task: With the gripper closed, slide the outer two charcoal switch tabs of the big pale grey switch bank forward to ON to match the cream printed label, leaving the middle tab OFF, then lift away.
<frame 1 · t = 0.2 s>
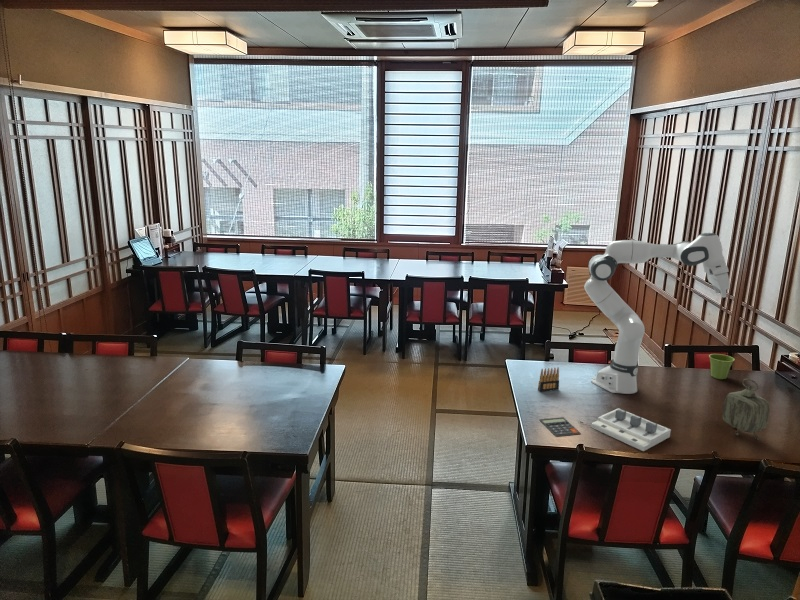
hand: (720, 294, 248), 52 cm above the table, tool tilted 20°, fingers open, 8 cm apart
tab b: (635, 420, 227), point 4 cm above the table, slide at 6.0 cm
tab c: (651, 426, 221), point 4 cm above the table, slide at 6.0 cm
plant pot: (718, 377, 286), on the table
tabletop clock: (739, 435, 225), on the table
calculator: (559, 428, 230), on the table
tab a: (620, 414, 232), point 4 cm above the table, slide at 6.0 cm
switch bank: (629, 432, 226), on the table
ammunition clip: (548, 390, 267), on the table
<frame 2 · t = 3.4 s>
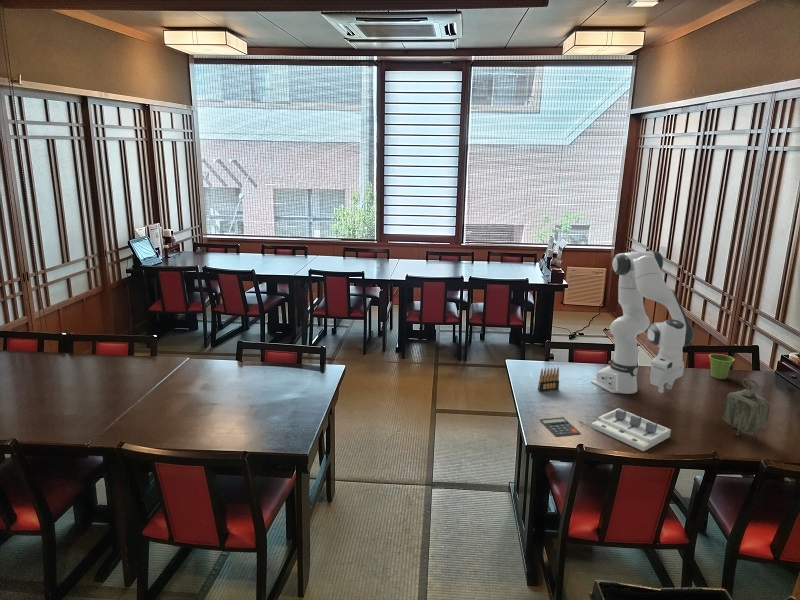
hand: (664, 390, 221), 19 cm above the table, tool pointing down, fingers open, 5 cm apart
nothing on the table moved.
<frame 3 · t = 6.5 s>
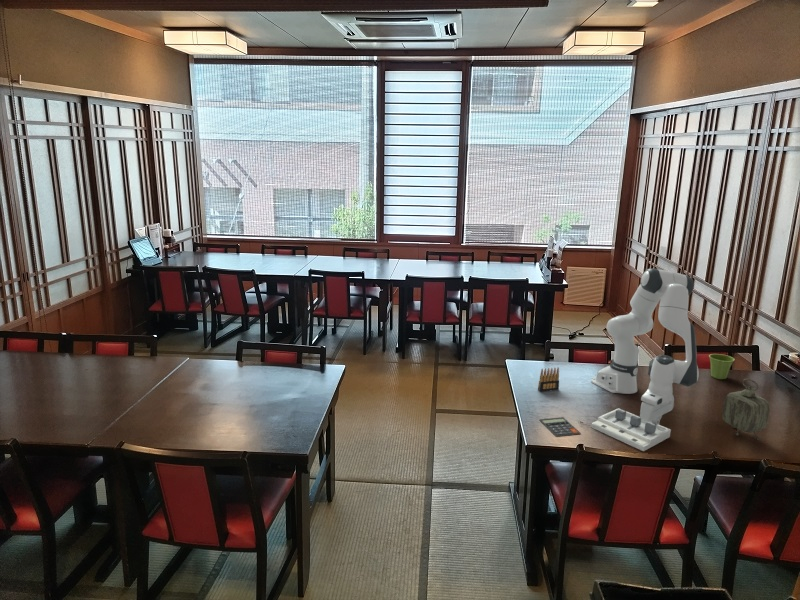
hand: (655, 424, 222), 5 cm above the table, tool pointing down, fingers closed
tab c: (650, 427, 221), point 4 cm above the table, slide at 5.3 cm, touching gripper
everything else where it was.
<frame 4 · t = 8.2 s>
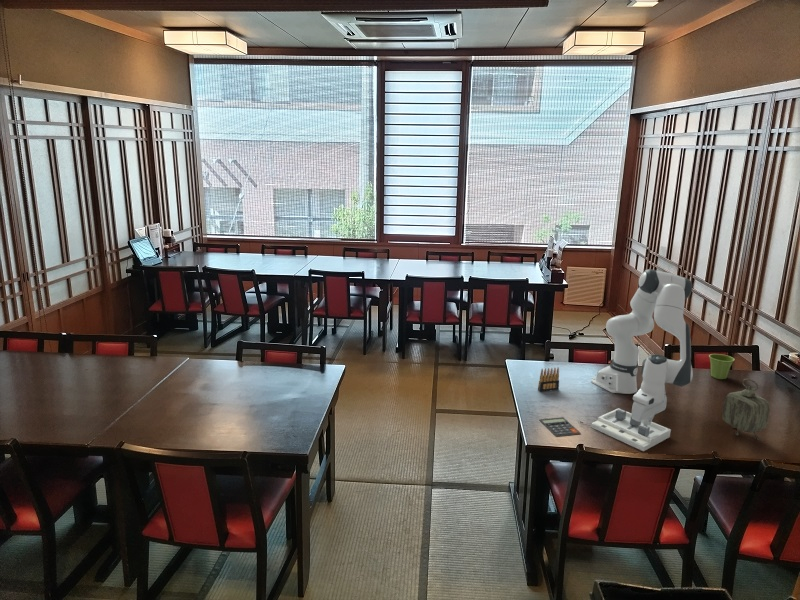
hand: (647, 424, 220), 6 cm above the table, tool pointing down, fingers closed
tab c: (643, 430, 218), point 4 cm above the table, slide at 0.2 cm, touching gripper
everything else where it was.
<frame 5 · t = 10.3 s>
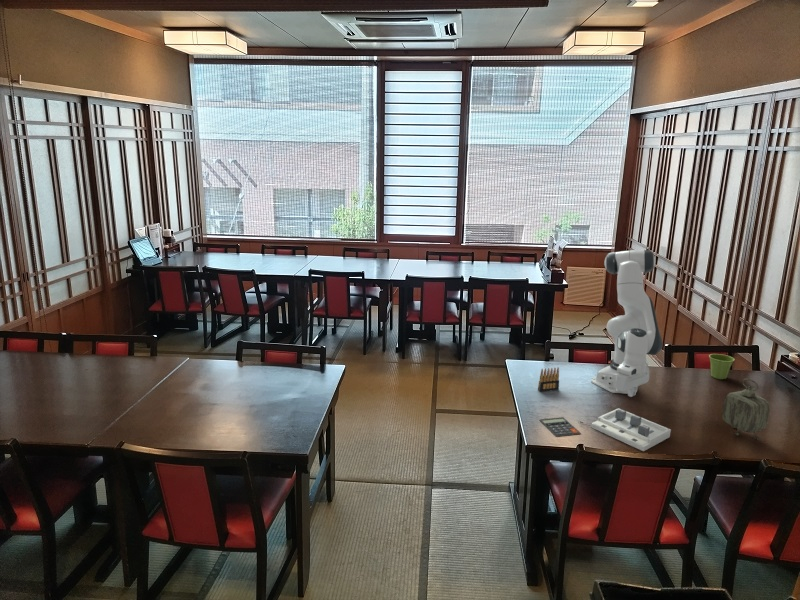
hand: (631, 395, 234), 12 cm above the table, tool pointing down, fingers closed
tab c: (643, 430, 218), point 4 cm above the table, slide at 0.2 cm
everything else where it was.
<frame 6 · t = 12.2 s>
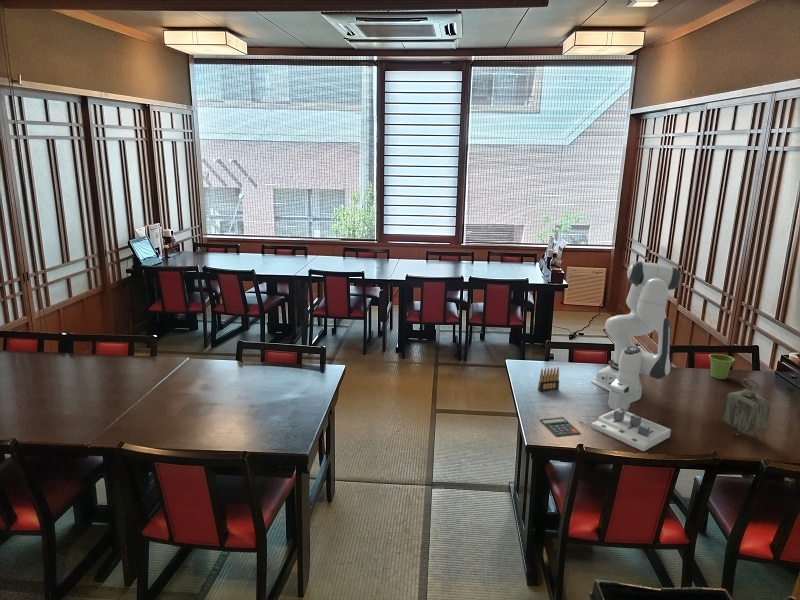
hand: (623, 412, 233), 5 cm above the table, tool pointing down, fingers closed
tab a: (618, 415, 231), point 4 cm above the table, slide at 4.6 cm, touching gripper
everything else where it was.
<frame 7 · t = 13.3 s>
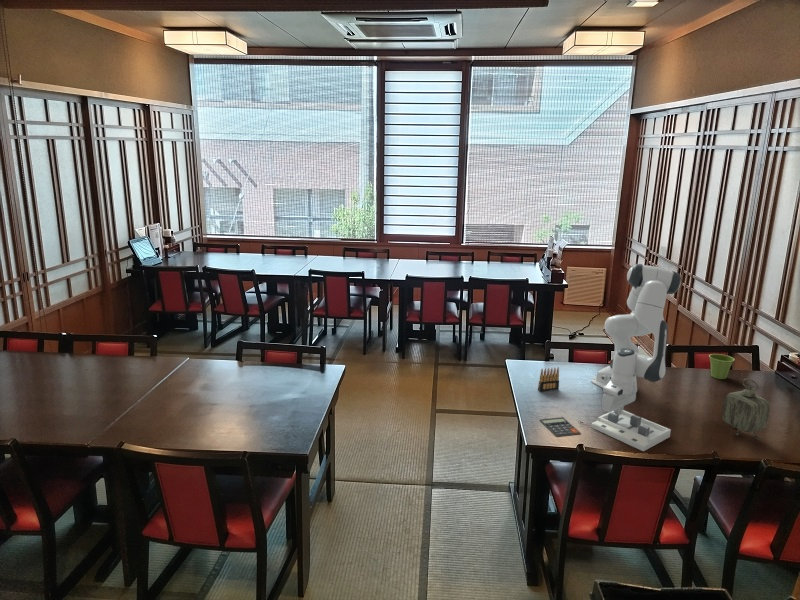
hand: (617, 415, 230), 5 cm above the table, tool pointing down, fingers closed
tab a: (613, 417, 229), point 4 cm above the table, slide at 0.4 cm, touching gripper
everything else where it was.
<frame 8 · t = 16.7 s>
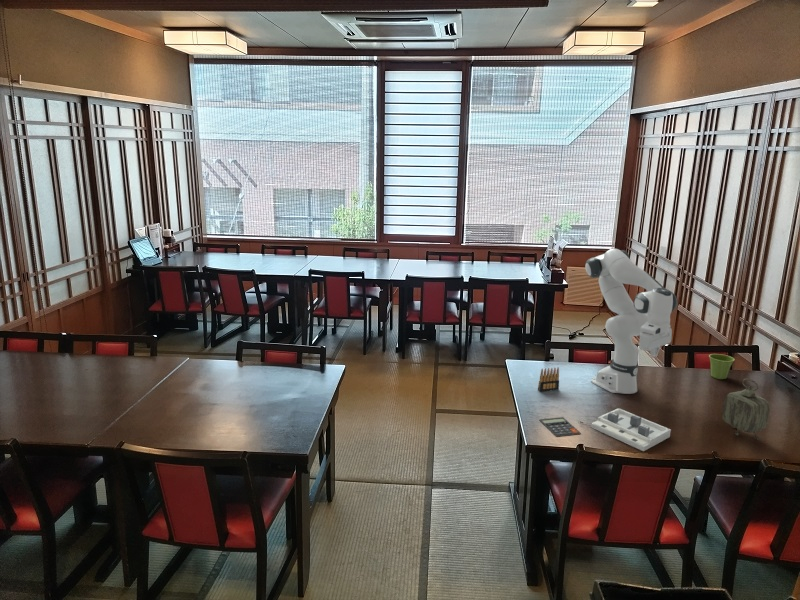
hand: (653, 356, 232), 29 cm above the table, tool pointing down, fingers closed
tab a: (613, 417, 229), point 4 cm above the table, slide at 0.2 cm
everything else where it was.
at the end: tab a slide at 0.2 cm; tab c slide at 0.2 cm; tab b slide at 6.0 cm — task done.
